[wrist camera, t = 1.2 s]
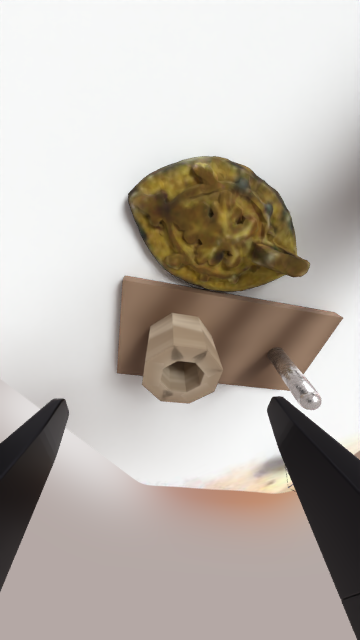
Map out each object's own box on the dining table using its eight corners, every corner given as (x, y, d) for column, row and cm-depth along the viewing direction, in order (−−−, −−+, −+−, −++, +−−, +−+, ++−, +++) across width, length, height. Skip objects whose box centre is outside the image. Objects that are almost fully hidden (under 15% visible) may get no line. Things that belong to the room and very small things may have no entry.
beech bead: (216, 319, 19) (230, 352, 15) (200, 366, 22) (208, 405, 18) (152, 309, 18) (148, 341, 14) (145, 360, 21) (139, 399, 17)
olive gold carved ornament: (122, 256, 18) (263, 299, 21) (108, 277, 14) (282, 326, 17) (142, 123, 13) (326, 202, 16) (127, 99, 9) (373, 210, 12)
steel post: (286, 348, 21) (331, 401, 16) (278, 360, 22) (318, 415, 16) (271, 346, 21) (311, 399, 15) (264, 358, 22) (300, 413, 16)
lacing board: (334, 312, 21) (343, 317, 20) (286, 383, 26) (291, 390, 25) (125, 275, 18) (122, 279, 17) (119, 365, 23) (116, 373, 22)
